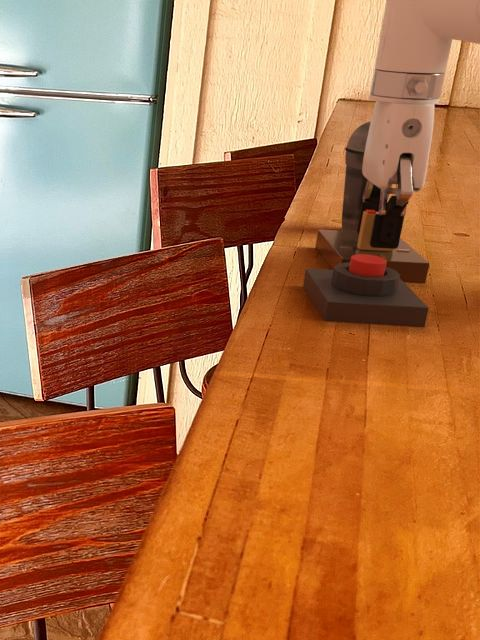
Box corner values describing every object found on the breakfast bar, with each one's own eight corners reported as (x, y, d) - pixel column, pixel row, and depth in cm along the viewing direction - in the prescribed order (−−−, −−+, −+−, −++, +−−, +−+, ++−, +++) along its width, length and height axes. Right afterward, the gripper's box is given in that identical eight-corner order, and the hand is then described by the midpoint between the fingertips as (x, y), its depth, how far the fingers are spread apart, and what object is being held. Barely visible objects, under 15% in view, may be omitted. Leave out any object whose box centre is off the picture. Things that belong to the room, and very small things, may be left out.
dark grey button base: (391, 291, 102) (398, 258, 101) (424, 327, 91) (433, 290, 90) (302, 286, 103) (308, 253, 102) (324, 321, 92) (331, 284, 91)
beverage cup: (390, 231, 128) (418, 87, 121) (378, 241, 123) (407, 91, 115) (338, 223, 132) (363, 83, 124) (325, 233, 126) (349, 87, 119)
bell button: (378, 270, 97) (381, 255, 96) (387, 280, 94) (391, 264, 93) (344, 268, 98) (347, 253, 97) (352, 278, 94) (355, 262, 94)
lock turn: (390, 248, 110) (397, 210, 108) (393, 251, 108) (400, 213, 107) (356, 246, 110) (363, 209, 108) (359, 249, 109) (366, 211, 107)
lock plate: (392, 251, 118) (395, 232, 117) (425, 283, 105) (430, 261, 104) (314, 247, 119) (318, 228, 118) (338, 278, 106) (342, 257, 105)
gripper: (467, 97, 94) (430, 262, 101) (416, 81, 109) (388, 225, 116) (393, 94, 94) (362, 258, 101) (354, 79, 110) (329, 222, 117)
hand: (376, 239), depth 109 cm, fingers open, 5 cm apart
